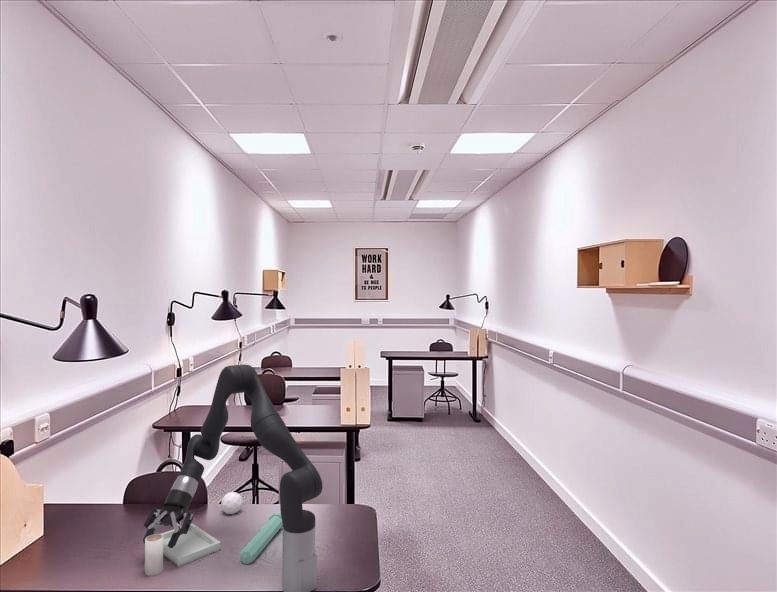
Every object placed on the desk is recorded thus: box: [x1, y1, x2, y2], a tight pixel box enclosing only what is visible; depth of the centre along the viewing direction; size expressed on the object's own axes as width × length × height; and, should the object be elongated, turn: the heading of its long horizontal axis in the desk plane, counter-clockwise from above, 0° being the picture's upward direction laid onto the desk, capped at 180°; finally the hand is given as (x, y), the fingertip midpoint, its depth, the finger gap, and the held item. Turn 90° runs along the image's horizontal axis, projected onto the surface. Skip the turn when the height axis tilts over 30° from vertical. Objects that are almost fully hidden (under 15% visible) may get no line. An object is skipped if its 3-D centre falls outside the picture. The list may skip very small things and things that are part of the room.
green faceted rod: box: [239, 513, 283, 565], centre depth 164 cm, size 6×6×25 cm
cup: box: [144, 533, 164, 577], centre depth 148 cm, size 5×5×10 cm
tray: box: [161, 522, 222, 568], centre depth 162 cm, size 20×14×2 cm
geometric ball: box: [220, 491, 243, 515], centre depth 189 cm, size 8×8×8 cm
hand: (157, 545), depth 150 cm, fingers open, 8 cm apart
